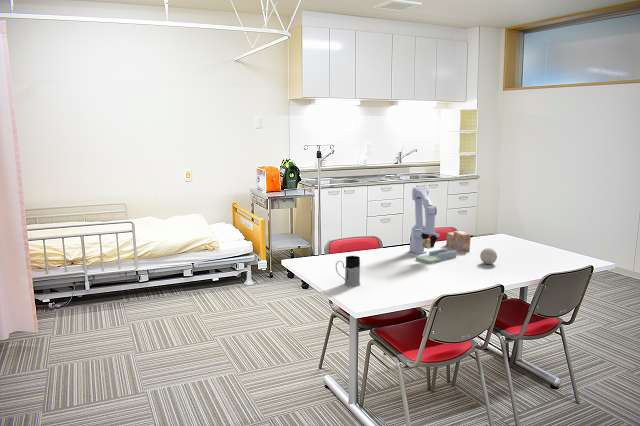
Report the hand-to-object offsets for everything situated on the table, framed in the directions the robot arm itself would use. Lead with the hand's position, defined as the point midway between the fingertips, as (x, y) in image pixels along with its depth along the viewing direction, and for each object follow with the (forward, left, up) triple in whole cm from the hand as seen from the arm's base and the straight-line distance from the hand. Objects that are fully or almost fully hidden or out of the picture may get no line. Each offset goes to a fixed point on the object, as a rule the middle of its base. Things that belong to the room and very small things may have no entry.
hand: (428, 246), depth 329 cm
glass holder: (+9, -73, -10) cm, 74 cm away
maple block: (0, -1, -1) cm, 1 cm away
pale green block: (0, +8, -10) cm, 13 cm away
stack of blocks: (-12, +43, -10) cm, 45 cm away
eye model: (+26, +26, -10) cm, 38 cm away
